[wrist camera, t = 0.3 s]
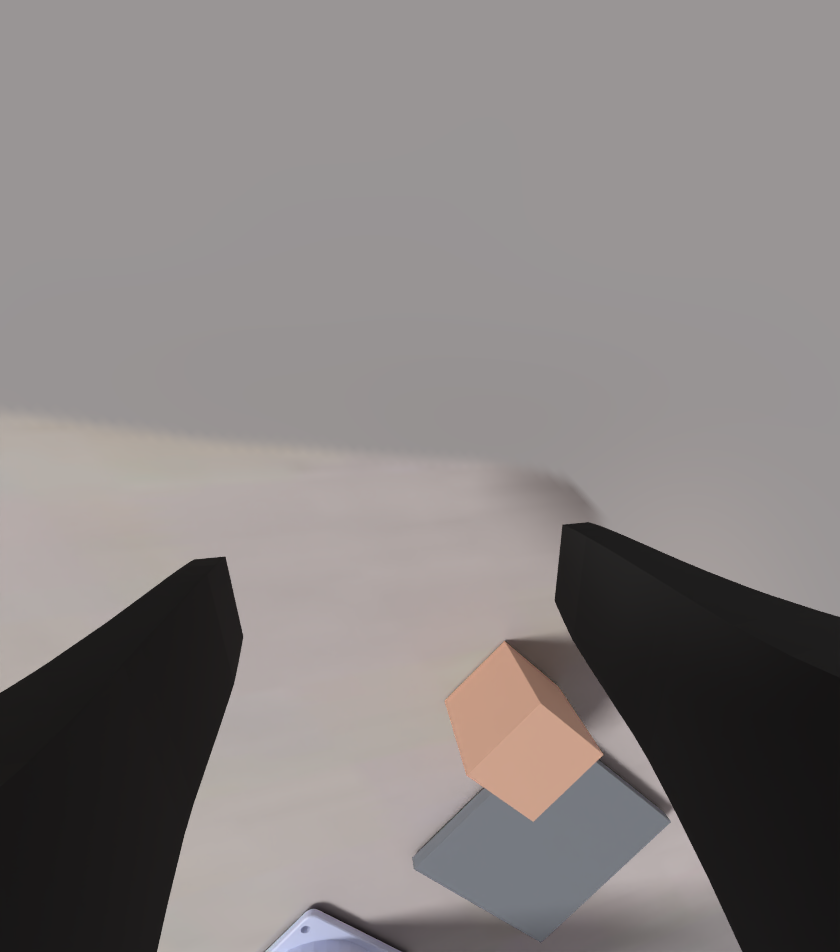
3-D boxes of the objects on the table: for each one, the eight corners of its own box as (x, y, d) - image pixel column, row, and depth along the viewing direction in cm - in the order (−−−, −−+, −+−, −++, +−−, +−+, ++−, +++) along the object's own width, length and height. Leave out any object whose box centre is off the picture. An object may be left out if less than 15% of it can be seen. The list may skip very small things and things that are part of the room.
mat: (537, 930, 28) (541, 942, 27) (412, 857, 25) (414, 869, 24) (664, 812, 27) (670, 821, 27) (552, 722, 24) (557, 730, 24)
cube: (500, 742, 24) (533, 822, 20) (444, 700, 23) (466, 775, 19) (558, 686, 24) (603, 754, 20) (504, 641, 23) (540, 703, 18)
